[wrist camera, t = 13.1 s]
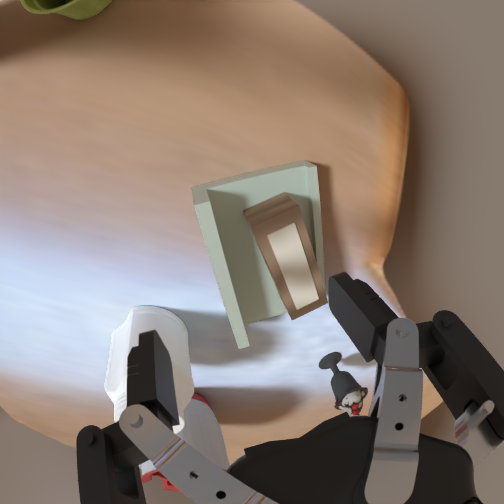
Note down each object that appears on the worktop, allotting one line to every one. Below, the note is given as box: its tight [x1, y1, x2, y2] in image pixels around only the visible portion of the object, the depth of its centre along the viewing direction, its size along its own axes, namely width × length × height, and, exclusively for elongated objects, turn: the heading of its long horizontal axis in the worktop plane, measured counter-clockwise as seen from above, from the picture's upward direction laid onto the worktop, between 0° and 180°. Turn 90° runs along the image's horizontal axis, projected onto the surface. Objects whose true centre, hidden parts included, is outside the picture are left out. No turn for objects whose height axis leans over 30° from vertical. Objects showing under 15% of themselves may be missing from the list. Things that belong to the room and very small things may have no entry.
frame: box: [243, 192, 328, 320], centre depth 33 cm, size 14×5×5 cm, turn 21°
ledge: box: [192, 161, 325, 349], centre depth 34 cm, size 20×14×6 cm
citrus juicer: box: [139, 393, 230, 495], centre depth 41 cm, size 16×17×20 cm
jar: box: [104, 306, 194, 434], centre depth 33 cm, size 12×10×15 cm
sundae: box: [319, 352, 368, 416], centre depth 46 cm, size 7×7×15 cm
